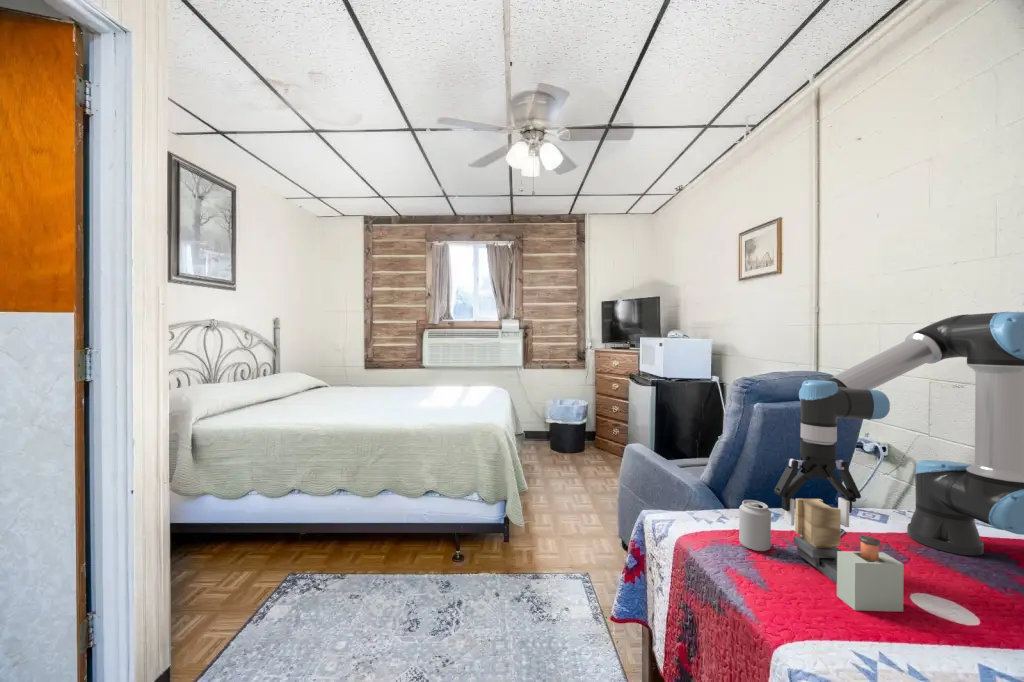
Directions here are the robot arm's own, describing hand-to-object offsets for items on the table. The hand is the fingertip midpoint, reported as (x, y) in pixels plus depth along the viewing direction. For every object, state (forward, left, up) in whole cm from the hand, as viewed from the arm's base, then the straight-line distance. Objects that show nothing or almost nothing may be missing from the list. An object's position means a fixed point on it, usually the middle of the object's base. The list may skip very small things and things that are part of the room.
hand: (816, 524), depth 106 cm
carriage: (0, 0, -10) cm, 10 cm away
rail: (0, +5, -10) cm, 11 cm away
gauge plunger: (0, +16, 0) cm, 16 cm away
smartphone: (-14, -18, -11) cm, 25 cm away
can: (+11, -9, -10) cm, 17 cm away
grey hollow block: (0, +16, -10) cm, 19 cm away
